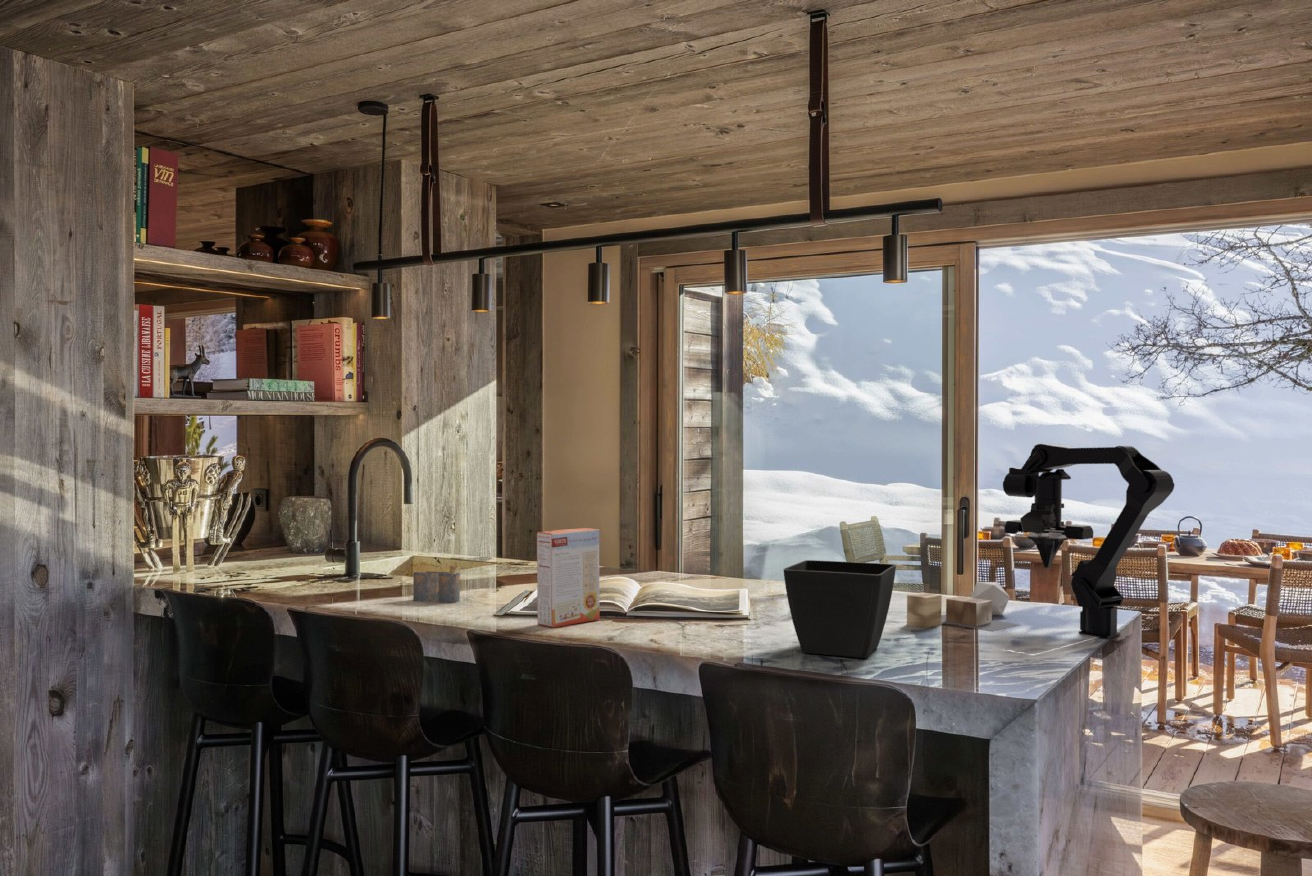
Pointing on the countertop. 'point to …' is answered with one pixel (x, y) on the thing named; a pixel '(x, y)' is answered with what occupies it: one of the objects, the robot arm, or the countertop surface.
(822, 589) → the flower pot
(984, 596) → the die
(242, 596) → the countertop surface
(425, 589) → the grooved slate block
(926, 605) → the oak block
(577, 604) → the cracker box
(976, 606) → the walnut block
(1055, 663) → the countertop surface
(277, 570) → the countertop surface
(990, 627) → the rubber mat
